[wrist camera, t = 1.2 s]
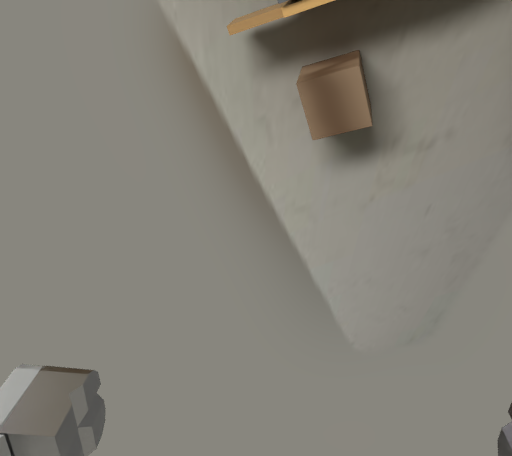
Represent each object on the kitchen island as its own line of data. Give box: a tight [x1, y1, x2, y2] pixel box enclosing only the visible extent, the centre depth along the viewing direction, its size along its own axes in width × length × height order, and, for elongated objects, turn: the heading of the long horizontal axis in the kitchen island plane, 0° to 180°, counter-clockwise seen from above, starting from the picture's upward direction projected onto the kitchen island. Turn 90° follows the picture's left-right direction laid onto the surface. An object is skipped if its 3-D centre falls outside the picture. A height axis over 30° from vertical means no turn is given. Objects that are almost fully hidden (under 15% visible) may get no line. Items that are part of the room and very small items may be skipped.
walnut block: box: [296, 50, 372, 140], centre depth 39 cm, size 5×5×5 cm
